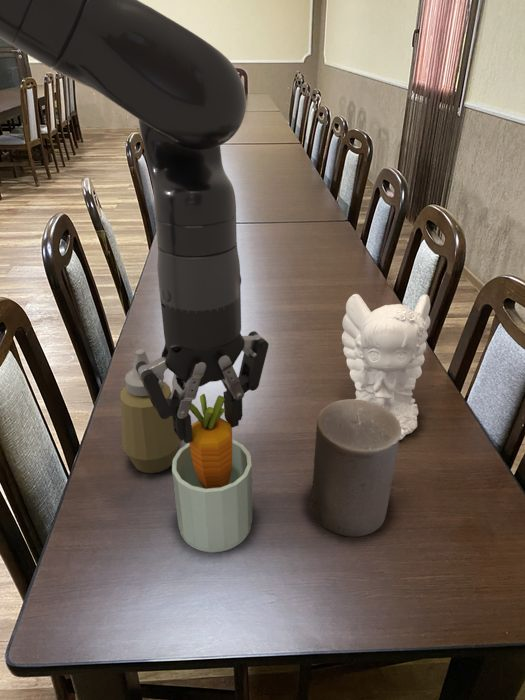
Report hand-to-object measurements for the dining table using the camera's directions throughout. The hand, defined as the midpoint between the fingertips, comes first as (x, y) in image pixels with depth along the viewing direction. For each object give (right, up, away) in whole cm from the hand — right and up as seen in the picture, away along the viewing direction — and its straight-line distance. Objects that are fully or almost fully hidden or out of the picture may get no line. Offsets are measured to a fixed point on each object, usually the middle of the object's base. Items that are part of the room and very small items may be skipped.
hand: (208, 430), depth 59 cm
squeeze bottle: (-9, -7, +17) cm, 21 cm away
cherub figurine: (+24, -2, +26) cm, 35 cm away
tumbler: (0, -13, +8) cm, 15 cm away
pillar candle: (+17, -11, +10) cm, 23 cm away
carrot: (0, -9, +5) cm, 11 cm away
